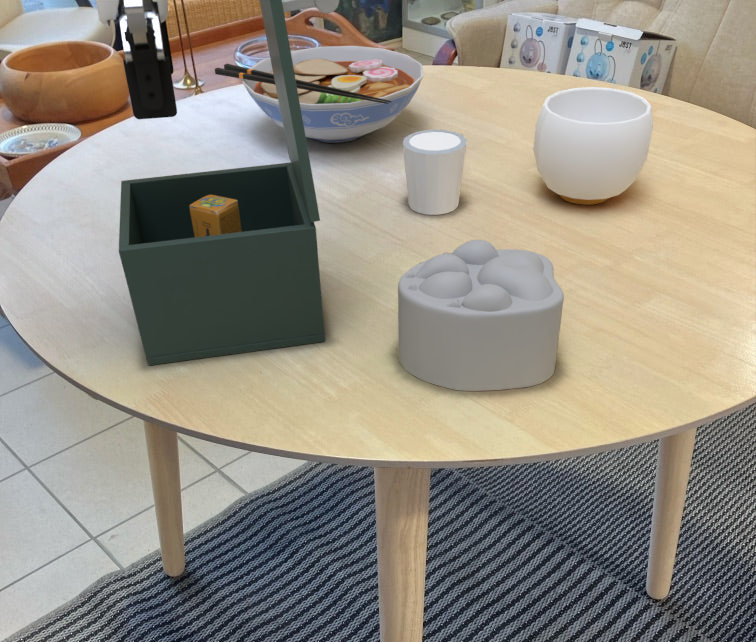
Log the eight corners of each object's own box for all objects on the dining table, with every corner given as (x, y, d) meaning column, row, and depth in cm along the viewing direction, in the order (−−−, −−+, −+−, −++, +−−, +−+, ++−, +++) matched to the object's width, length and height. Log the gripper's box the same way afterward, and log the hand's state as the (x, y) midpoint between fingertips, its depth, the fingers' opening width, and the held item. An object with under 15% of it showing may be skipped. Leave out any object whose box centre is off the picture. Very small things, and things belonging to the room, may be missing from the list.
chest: (148, 366, 74) (118, 250, 67) (147, 288, 84) (121, 180, 76) (325, 341, 76) (315, 227, 69) (304, 269, 86) (294, 161, 78)
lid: (268, -8, 57) (344, -22, 57) (249, -51, 67) (314, -63, 67) (310, 222, 68) (373, 209, 69) (289, 157, 78) (344, 146, 78)
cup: (661, 208, 93) (680, 117, 87) (557, 225, 91) (568, 133, 84) (608, 165, 102) (622, 79, 95) (512, 180, 100) (519, 93, 93)
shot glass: (455, 220, 93) (457, 155, 88) (395, 213, 94) (394, 149, 90) (471, 194, 97) (474, 131, 92) (413, 187, 99) (413, 125, 94)
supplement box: (255, 302, 80) (240, 198, 73) (233, 319, 78) (215, 214, 71) (227, 293, 81) (210, 190, 74) (204, 310, 79) (184, 206, 72)
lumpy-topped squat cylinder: (560, 386, 70) (574, 292, 64) (402, 394, 70) (401, 300, 64) (538, 319, 78) (548, 229, 72) (395, 326, 78) (393, 236, 72)
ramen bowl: (463, 121, 114) (465, 54, 108) (366, 184, 100) (363, 111, 94) (312, 91, 124) (308, 28, 118) (207, 144, 111) (196, 76, 105)
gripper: (57, -193, 61) (109, 64, 73) (36, -163, 49) (103, 139, 61) (163, -195, 63) (198, 58, 74) (168, -167, 50) (209, 131, 62)
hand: (155, 94), depth 68 cm, fingers open, 9 cm apart
